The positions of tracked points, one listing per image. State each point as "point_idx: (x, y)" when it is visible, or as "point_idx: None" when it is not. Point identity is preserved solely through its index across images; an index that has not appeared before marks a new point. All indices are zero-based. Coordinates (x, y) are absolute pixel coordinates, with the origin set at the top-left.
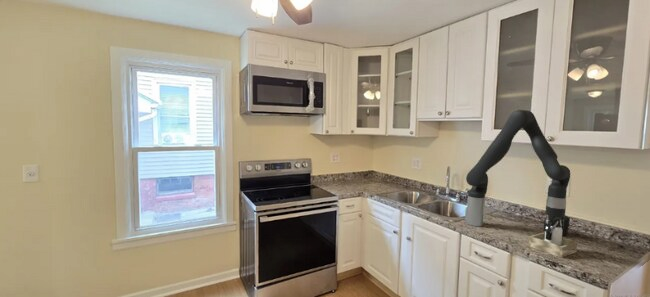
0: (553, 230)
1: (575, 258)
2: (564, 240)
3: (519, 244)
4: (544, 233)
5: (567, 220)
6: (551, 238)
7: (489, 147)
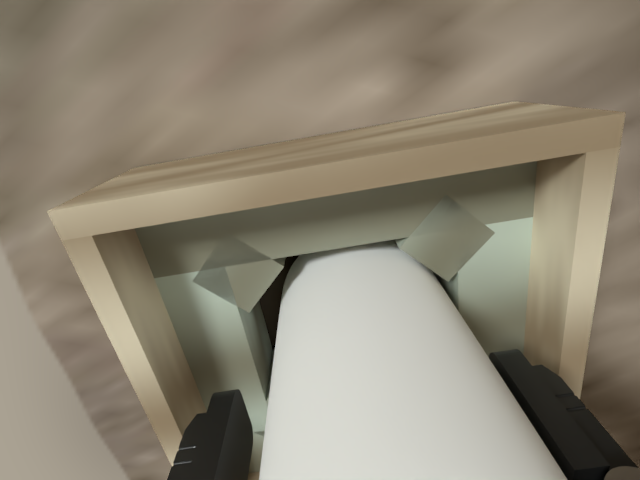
0: None
1: None
2: None
3: (41, 87)
4: (548, 157)
5: None
6: (246, 464)
7: None
